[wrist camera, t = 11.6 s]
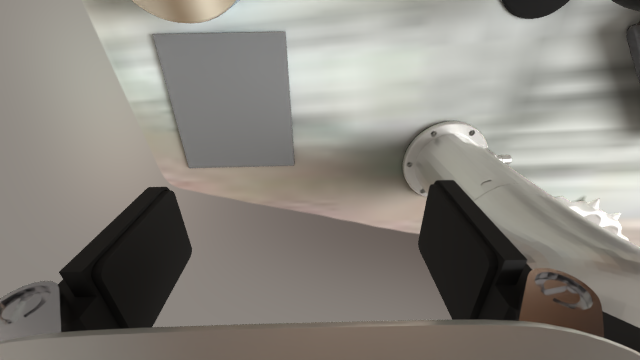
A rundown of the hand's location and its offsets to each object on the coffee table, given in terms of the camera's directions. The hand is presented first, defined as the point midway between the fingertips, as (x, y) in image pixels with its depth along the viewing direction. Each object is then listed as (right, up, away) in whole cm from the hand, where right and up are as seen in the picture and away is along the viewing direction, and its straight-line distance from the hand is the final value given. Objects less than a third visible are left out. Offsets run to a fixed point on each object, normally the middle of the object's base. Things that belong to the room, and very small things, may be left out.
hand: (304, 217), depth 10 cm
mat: (-11, +12, +28) cm, 32 cm away
